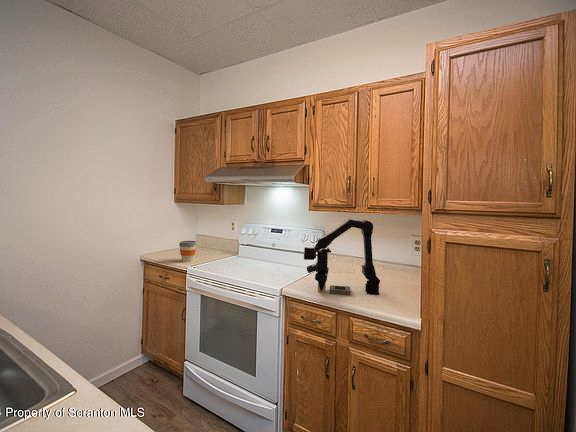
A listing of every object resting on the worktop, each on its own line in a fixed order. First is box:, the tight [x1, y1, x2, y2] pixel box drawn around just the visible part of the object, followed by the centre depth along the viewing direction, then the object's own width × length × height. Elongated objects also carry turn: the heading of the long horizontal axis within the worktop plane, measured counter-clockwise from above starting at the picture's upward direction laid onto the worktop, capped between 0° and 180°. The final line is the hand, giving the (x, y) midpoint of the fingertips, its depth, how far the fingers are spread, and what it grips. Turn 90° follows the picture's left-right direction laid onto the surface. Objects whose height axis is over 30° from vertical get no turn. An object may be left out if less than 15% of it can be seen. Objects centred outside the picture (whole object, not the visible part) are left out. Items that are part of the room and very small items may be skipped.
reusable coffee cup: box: [179, 240, 197, 263], centre depth 227 cm, size 13×13×15 cm
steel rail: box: [329, 284, 351, 296], centre depth 158 cm, size 11×8×2 cm
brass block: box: [317, 282, 327, 294], centre depth 159 cm, size 4×4×7 cm
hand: (321, 287), depth 160 cm, fingers open, 9 cm apart
